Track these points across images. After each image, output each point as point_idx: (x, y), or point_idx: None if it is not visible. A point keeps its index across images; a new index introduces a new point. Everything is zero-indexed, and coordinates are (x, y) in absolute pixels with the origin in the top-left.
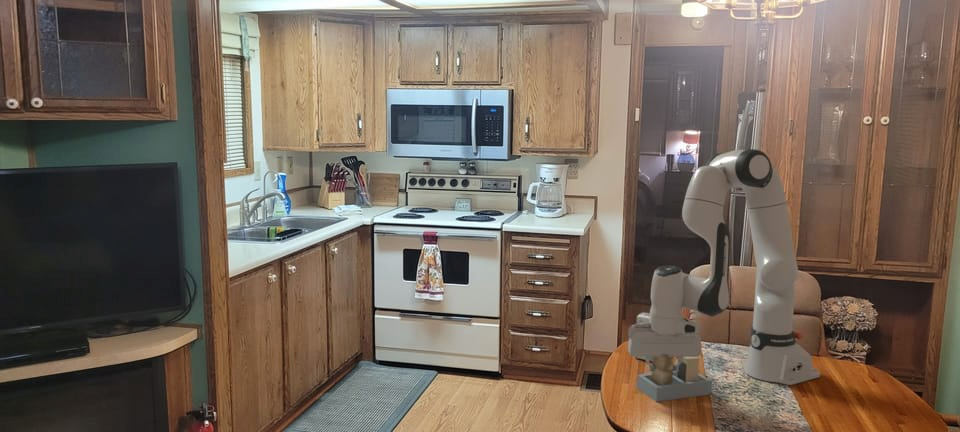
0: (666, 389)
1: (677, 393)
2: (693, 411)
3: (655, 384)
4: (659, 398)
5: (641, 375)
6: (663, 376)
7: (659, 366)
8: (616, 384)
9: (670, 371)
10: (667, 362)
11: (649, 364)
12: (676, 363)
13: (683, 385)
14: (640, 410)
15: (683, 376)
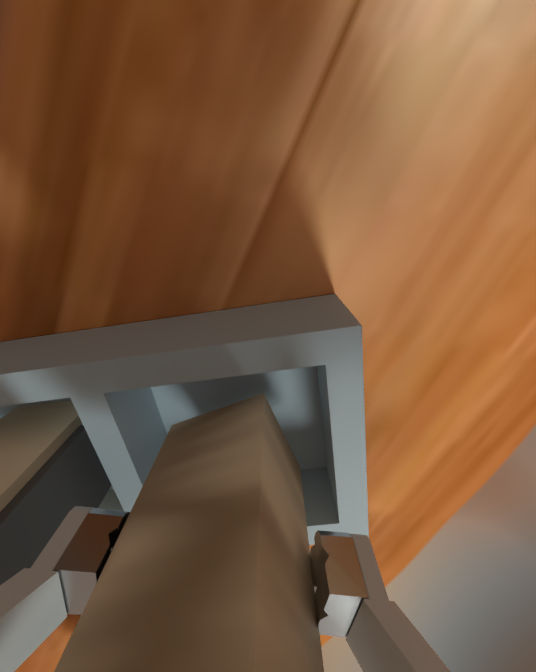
0: (261, 330)
1: (172, 328)
2: (136, 88)
3: (332, 392)
4: (313, 302)
5: (349, 529)
6: (252, 451)
7: (283, 575)
8: (423, 509)
9: (159, 505)
10: (171, 636)
11: (396, 620)
12: (40, 609)
13: (100, 357)
14: (519, 173)
15: (56, 470)
